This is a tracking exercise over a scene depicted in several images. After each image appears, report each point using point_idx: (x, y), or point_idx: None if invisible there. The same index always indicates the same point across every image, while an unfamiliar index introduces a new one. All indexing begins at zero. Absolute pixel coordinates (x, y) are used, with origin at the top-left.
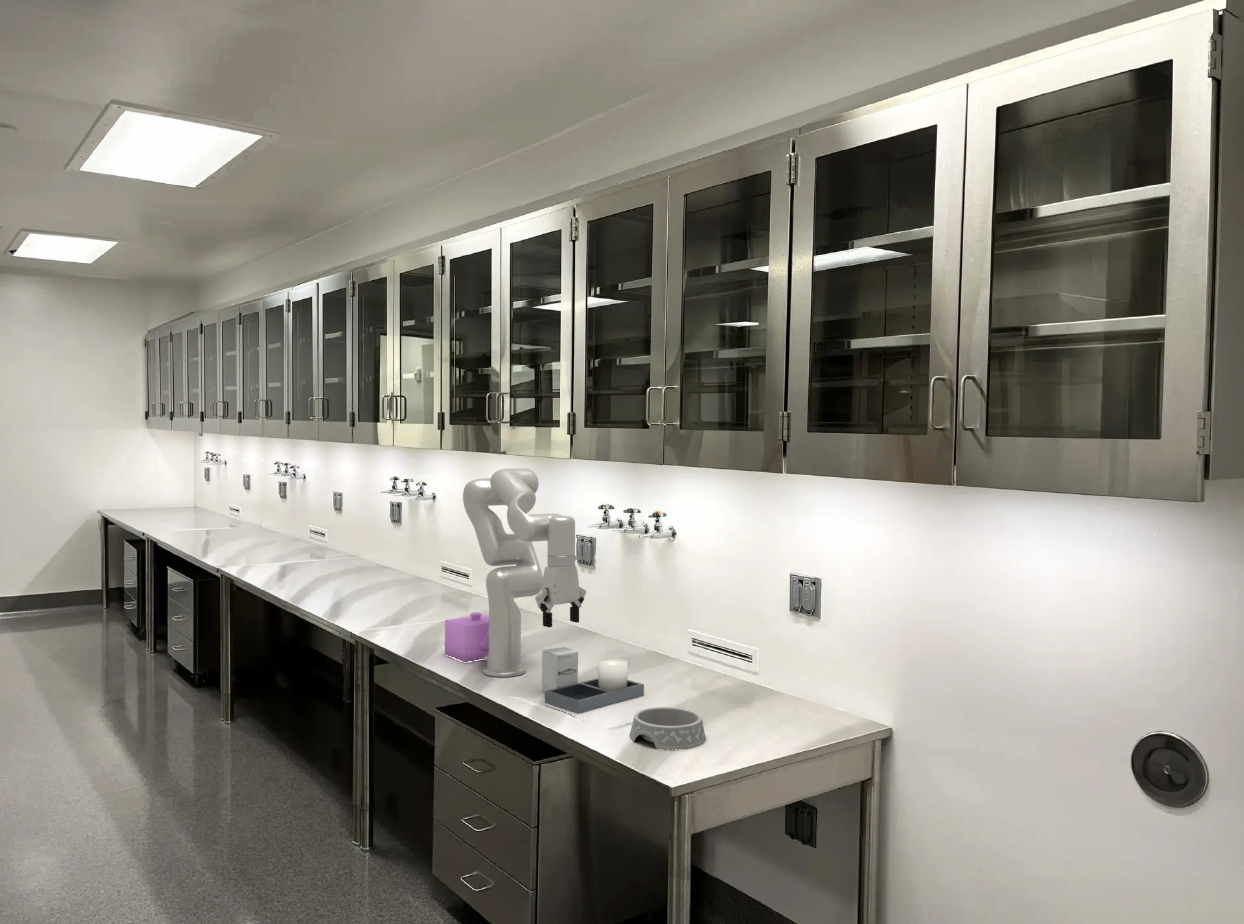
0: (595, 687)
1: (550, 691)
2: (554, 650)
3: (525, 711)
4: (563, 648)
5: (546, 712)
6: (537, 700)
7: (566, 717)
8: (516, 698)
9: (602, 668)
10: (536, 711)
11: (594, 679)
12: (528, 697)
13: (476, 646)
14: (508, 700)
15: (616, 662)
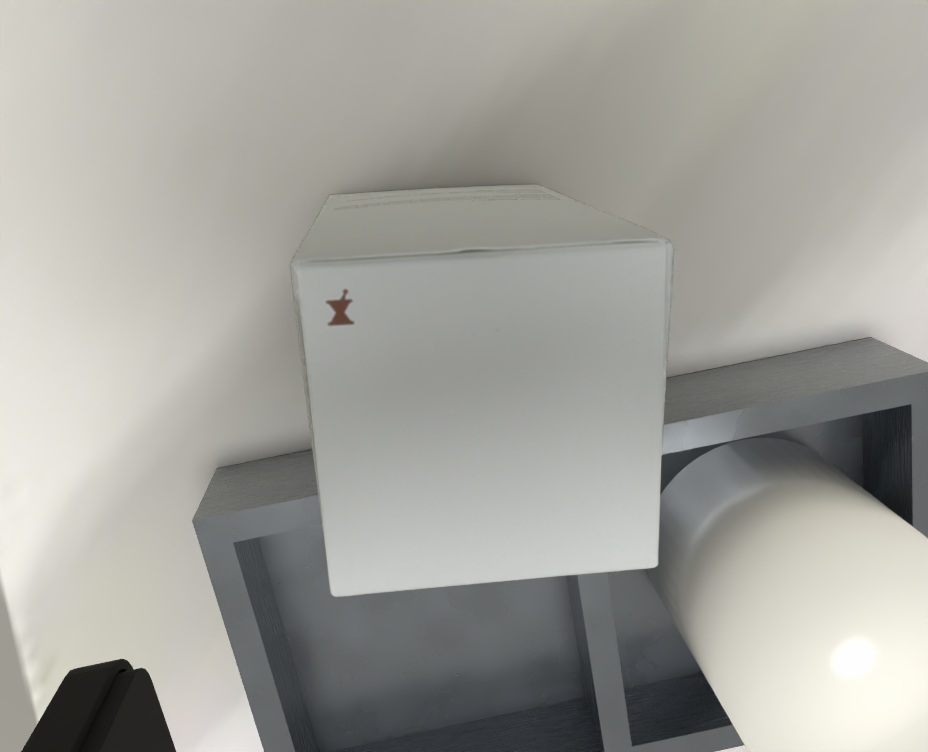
0: (603, 616)
1: (229, 552)
2: (411, 405)
3: (33, 508)
4: (586, 353)
5: (166, 592)
6: (230, 312)
7: (240, 729)
8: (91, 171)
9: (726, 699)
10: (109, 543)
11: (739, 422)
12: (198, 199)
13: None
14: (5, 188)
15: (882, 743)
